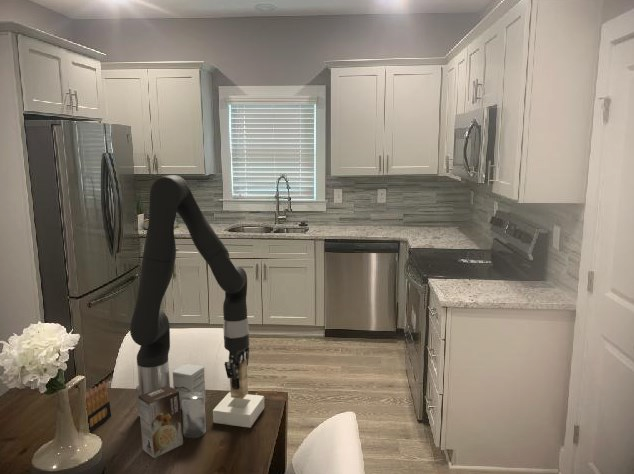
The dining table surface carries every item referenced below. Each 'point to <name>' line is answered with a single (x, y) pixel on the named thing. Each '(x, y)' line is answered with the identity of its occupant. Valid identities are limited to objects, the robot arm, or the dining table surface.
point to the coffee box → (160, 420)
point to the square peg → (241, 382)
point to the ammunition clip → (97, 406)
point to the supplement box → (189, 380)
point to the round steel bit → (193, 415)
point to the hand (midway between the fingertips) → (238, 385)
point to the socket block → (238, 410)
